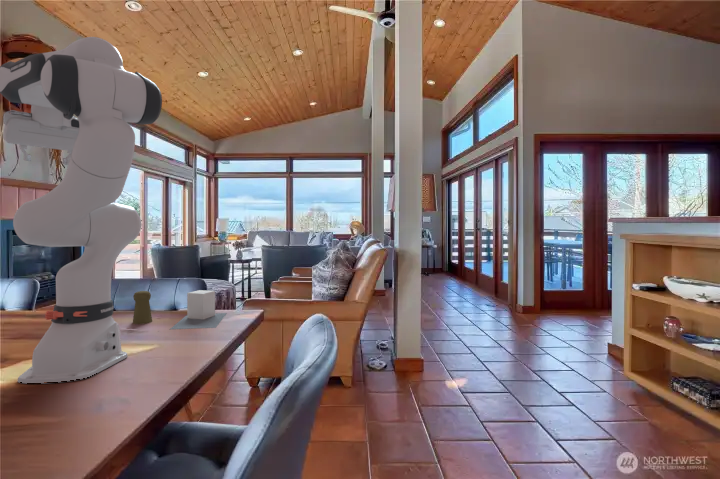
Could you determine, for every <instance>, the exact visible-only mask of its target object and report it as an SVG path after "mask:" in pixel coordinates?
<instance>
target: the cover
mask: <svg viewBox="0 0 720 479" xmlns="http://www.w3.org/2000/svg"><path fill="white" fill-rule="evenodd" d="M186 297H187V298H186V299H187V303H186V304H187V306H186V307H187V314H186V315H187V316H188V318H191V319H206V318H209V317H212V316H215V313H216V291H215V290H205V289H204V290H202V289H199V290H195V291H190V292H187V296H186Z"/></svg>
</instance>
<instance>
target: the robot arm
mask: <svg viewBox="0 0 720 479" xmlns="http://www.w3.org/2000/svg"><path fill="white" fill-rule="evenodd" d="M0 95H1V96H2V97H4V98H5V99H6V100H8V102H10V103H15V104H24V105H29V106H31V108H30V112H26V111H19V110H15V109H11V110H8V111H4V113H3V118H2V121H3V123H4V128H3V134H2V137H3V140H4V141H5V142H6V143H8V144H12V145H18V148H19V149H20V151H21V153H22V154H23V161H25V162H31V161H32V155H31V154H30V153H28V152H27V151H26V150H27V149H28V146H29V147H35V148H45V149H53V150H61V151H67V156H66V157H62V161H61V163H62V165H64V166H65V165H67V168H66V171H65V173H64V176H63V177H62V180H60V182H59V184H57V185H56V186H55V187H54V188H53V189H52V190H50V191H49V192H47V193H45V194H44V195H41V196H40V197H38V198H35V199H32V200H28V201H25V202H24V203H22V204H21V205H20V206H19V207H18V208H17V210H16V212H15V214H14V216H13V220H12V221H13V222H12V226H13V230H14V232H15V234H16V236H17V237H18V238H19V239H20V240H21V241H22V242H23V243H25V244H27V245H32V246H39V247H49V248H60V247H61V248H63V247H84V251H83V253H82V254H81V256H80V257H79V258H77V259H75V260H72V261H70V262H69V263H67V264H65V265H63V266H62V267H60V268H59V270H58V271H57V272H56V276H55V300H56V301H55V302H56V303H55V305H54V306H53V310H47V311H46V312H45V314H44V315H45V316H44V318H45V320H49V321H50V320H51V323H50V326H49V327H48V328H47V331H45V333H44V335H43V336H42V337H41V339H40V340H39V341H38V344H37V345H36V346H35V348H34V349H33V352H32V361H31V366H30V367H29V368H27V369H26V370H25V371H24V372H23V373H22V374H20V375H19V376H18V377H17V383H20V382H22V383H21V384H27V383H41V384H45V383H44V382H58V383H62V382H61V381H67V382H71V381H70V380H74V381H77V380H76V379H80V380H84V379H83V378H85V379H88V378H87V377H89V378H91V377H93V376H94V374H95V375H96V373H97V374H98V373H100V372H102V371H104V370H106V369H107V368H109V367H112V366H114V365H115V364H117V363H119V362H120V361H121V362H122V361H123V360H125V359H126V358H128V352H126V351H122V340H121V330H120V329H121V328H120V324H119V323H118V322H117V321H115V319H114V318H113V314H114V308H115V307H114V301H113V300H112V289H111V288H112V275H113V270H114V267H115V266H114V265H115V263H116V262H117V259H118V257H119V255H120V254H121V253H122V251H123V250H124V249H125V248H126V247H127V246H129V245H130V244H131V243H133V242H134V241H135V240H136V239H137V238H138V237H139V235H140V233H141V230H142V220H141V217H140V214H139V213H138V211H137V210H136V209H135V208H134V207H133V206H131V205H126V204H121V203H117V202H115V201H117V199H119V198H120V196H121V195H122V192H123V190H124V187H125V185H126V182H127V178H128V176H129V173H130V170H131V167H132V164H133V158H134V153H135V146H136V134H135V131H134V129H133V127H132V126H131V125H130V123H131V124H132V123H133V124H135V125H146V126H147V125H152V124H154V123H155V122H156V121H157V120H158V118H160V116H161V112H162V106H163V97H162V96H163V95H162V91H161V90H160V88H159V87H158V86H157V84H156V83H155V82H153V81H152V80H150V79H149V78H147V77H146V76H143V75H142V74H141V73H139V72H138V71H135V72H133V71H132V72H131V71H128V70H125V69H124V63H123V58H122V56H121V54H120V52H119V50H118V49H117V48H116V47H115V46H114V45H113V44H112V43H111V42H109V41H108V40H106V39H103V38H100V37H96V36H86V37H83V38H79V39H77V40H74V41H72V42H71V43H69V44H68V45H67V46H66V47H65V48H62V49H57V50H54V51H48V52H40V53H34V54H33V53H32V54H29V55H28V56H27V55H26V56H25V57H23V58H21V59H19V60H17V61H15V62H14V61H11V60H10V61H8V62H5V63H3V64H1V65H0ZM92 375H93V376H92ZM90 376H91V377H90Z"/></svg>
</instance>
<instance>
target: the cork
mask: <svg viewBox="0 0 720 479" xmlns="http://www.w3.org/2000/svg"><path fill="white" fill-rule="evenodd" d="M151 297H152V294H151V292H150V291H148V290H139V291H135V292H134V293H133V297H132V298H133V300H134V308H133V318H132V324H133V325H145V324H150V323H152V322H153V317H152V310H151V306H150V305H151V304H150V303H151V302H150V300H151Z"/></svg>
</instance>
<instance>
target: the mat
mask: <svg viewBox="0 0 720 479" xmlns="http://www.w3.org/2000/svg"><path fill="white" fill-rule="evenodd" d="M227 314H228V313H227V312H224V313H223V312H221V313H216V312H215V316H212V317H209V318H206V319H191V318H188V316H187V314H186V315H185V316H184V317H183V318H181V319H180V320H179V321H178V322H177V323H176V324H174V325H173V326H172V327H171V328H169V330H189V329H190V330H191V329H194V330H195V329H216V328H217V327H218V326H219V325H220V323H221V322H222V321H223V319H224V318H225V317H226V315H227Z"/></svg>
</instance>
